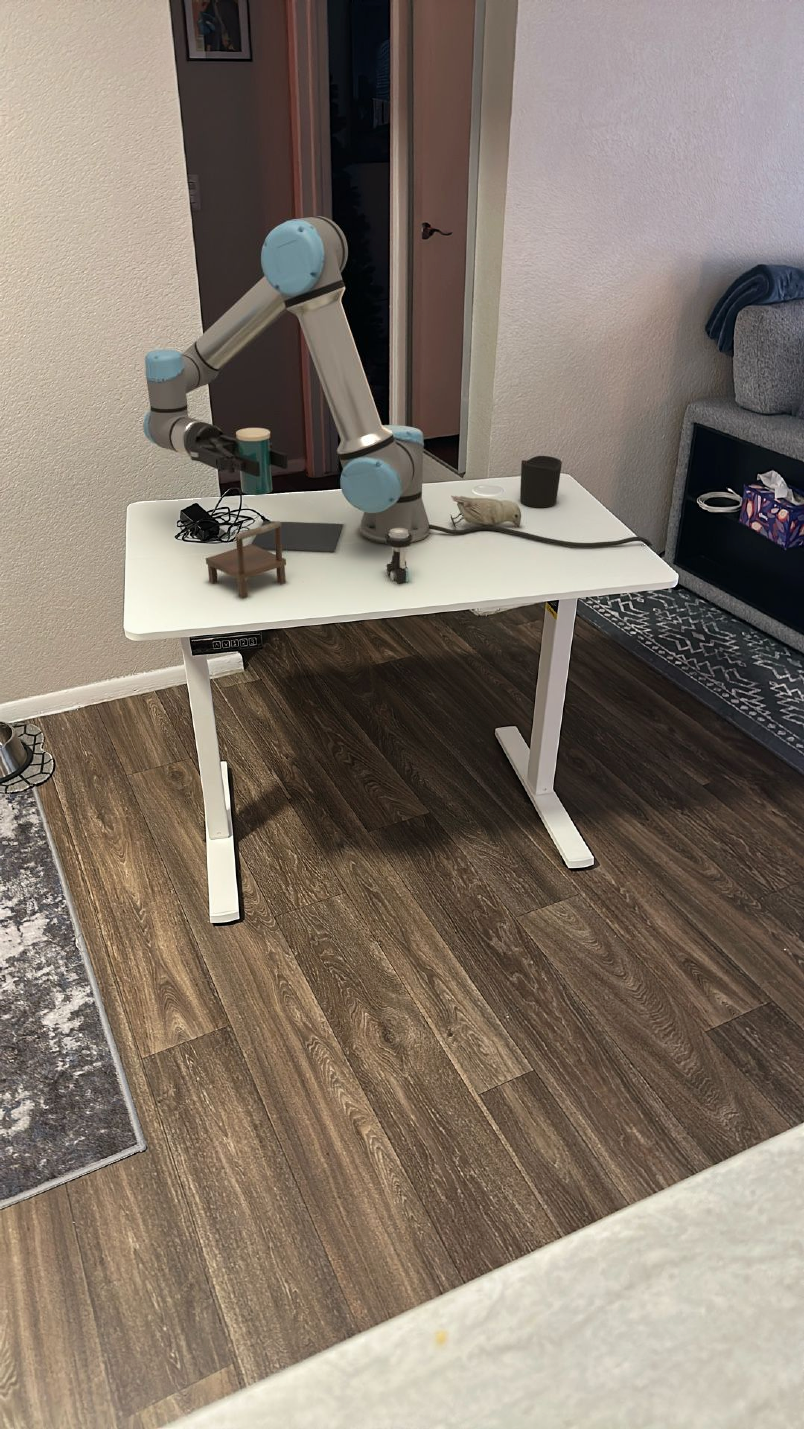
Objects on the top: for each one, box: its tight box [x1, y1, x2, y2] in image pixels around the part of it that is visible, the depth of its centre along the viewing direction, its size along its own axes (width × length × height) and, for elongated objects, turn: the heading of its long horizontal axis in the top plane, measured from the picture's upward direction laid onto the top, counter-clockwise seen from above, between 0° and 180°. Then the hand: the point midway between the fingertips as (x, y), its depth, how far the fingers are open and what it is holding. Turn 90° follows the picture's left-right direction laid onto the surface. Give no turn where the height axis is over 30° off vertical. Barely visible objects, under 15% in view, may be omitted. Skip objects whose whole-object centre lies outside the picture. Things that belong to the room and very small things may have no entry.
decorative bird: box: [449, 495, 522, 530], centre depth 212 cm, size 5×16×7 cm, turn 94°
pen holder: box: [519, 455, 563, 509], centre depth 227 cm, size 9×9×10 cm
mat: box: [251, 520, 344, 553], centre depth 208 cm, size 18×16×1 cm
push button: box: [385, 528, 413, 585], centre depth 187 cm, size 7×5×10 cm
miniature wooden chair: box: [205, 520, 287, 599], centre depth 184 cm, size 11×11×13 cm
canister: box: [235, 427, 273, 496], centre depth 183 cm, size 6×6×11 cm
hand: (272, 465), depth 180 cm, fingers closed on canister, 6 cm apart
